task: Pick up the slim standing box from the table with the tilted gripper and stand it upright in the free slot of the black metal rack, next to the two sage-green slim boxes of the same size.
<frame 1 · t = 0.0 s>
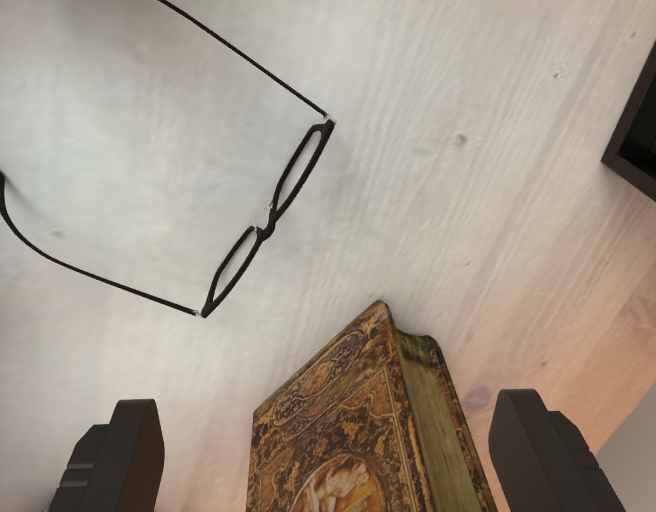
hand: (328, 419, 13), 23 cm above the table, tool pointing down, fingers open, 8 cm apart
book: (335, 375, 43), on the table
eyeglasses: (160, 145, 33), on the table
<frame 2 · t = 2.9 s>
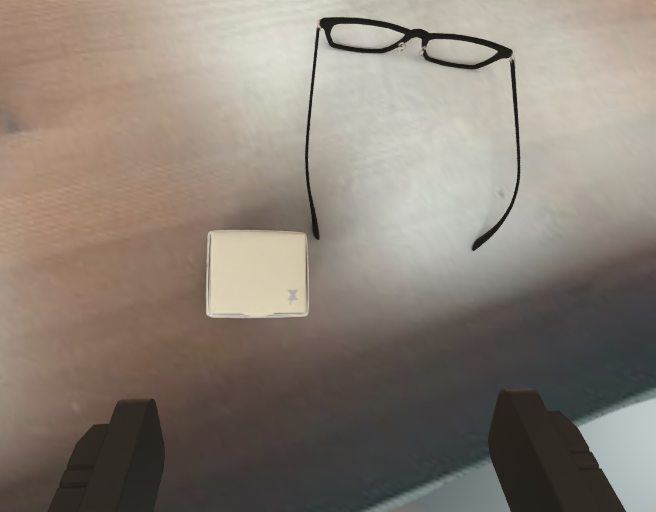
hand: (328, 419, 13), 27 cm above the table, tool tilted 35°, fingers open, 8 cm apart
box: (239, 280, 39), on the table
eyeglasses: (399, 146, 43), on the table
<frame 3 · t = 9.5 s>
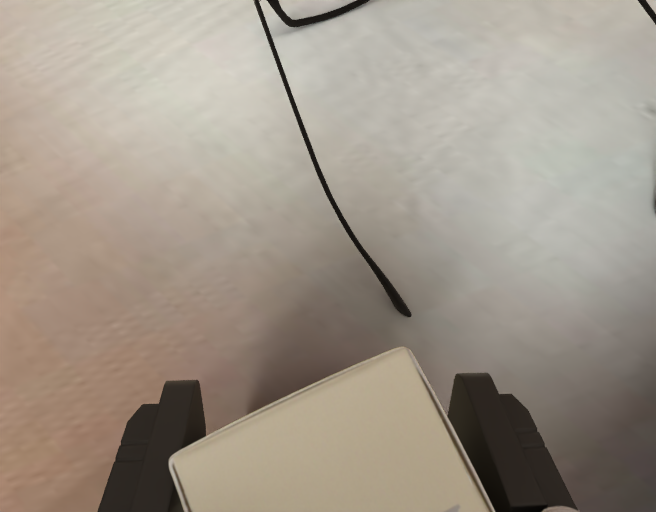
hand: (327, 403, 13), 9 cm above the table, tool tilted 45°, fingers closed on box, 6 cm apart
box: (317, 443, 22), on the table, touching gripper
eyeglasses: (461, 116, 26), on the table
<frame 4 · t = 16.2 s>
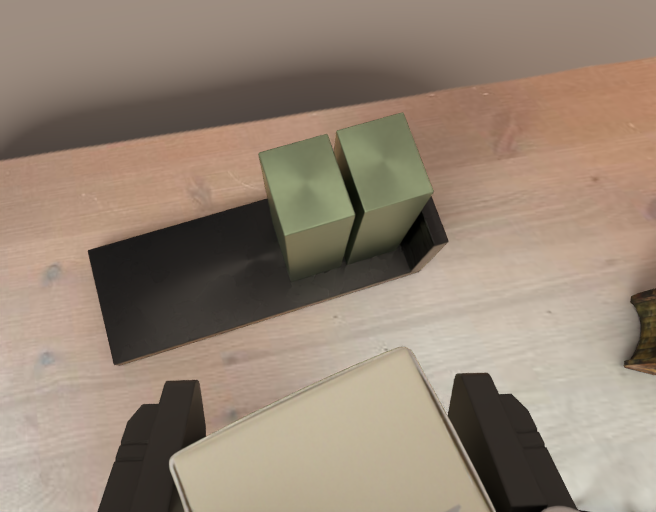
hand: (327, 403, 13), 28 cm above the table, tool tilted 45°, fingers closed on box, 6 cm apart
box: (317, 443, 22), point 19 cm above the table, touching gripper
rack: (257, 262, 43), on the table
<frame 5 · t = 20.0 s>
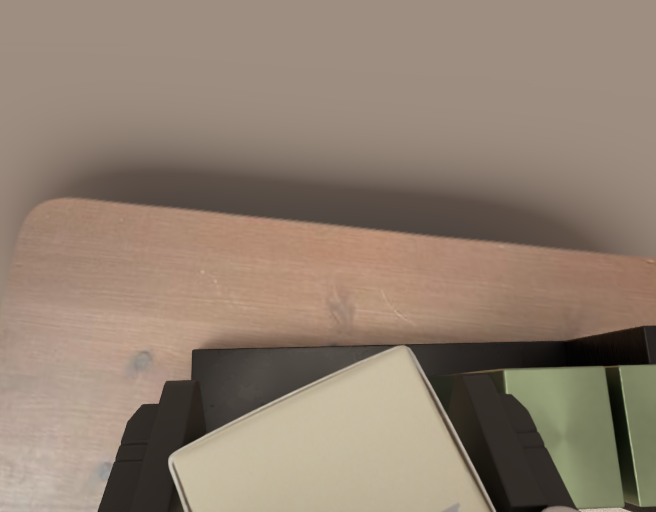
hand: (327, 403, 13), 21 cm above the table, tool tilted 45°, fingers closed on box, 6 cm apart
box: (317, 442, 22), point 12 cm above the table, touching gripper
rack: (390, 420, 34), on the table
when the fingers open (11 cm above the table, at t = 23.4 s): box stays where it is, resting on rack.
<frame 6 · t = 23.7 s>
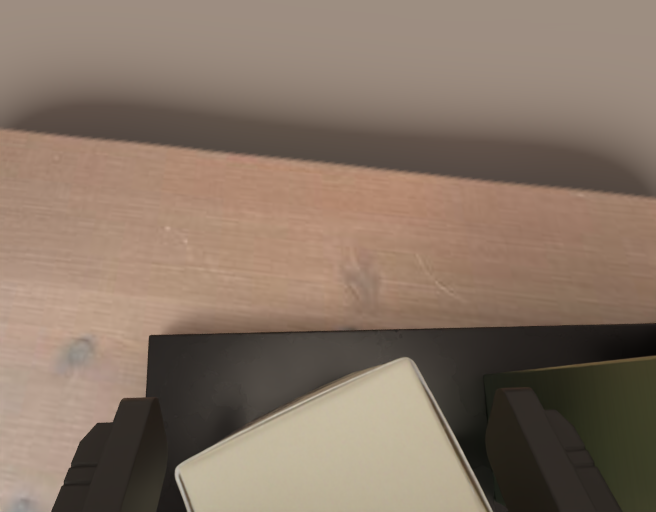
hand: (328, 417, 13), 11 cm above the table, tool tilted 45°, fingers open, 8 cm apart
box: (321, 447, 22), point 1 cm above the table, touching rack
rack: (433, 436, 23), on the table
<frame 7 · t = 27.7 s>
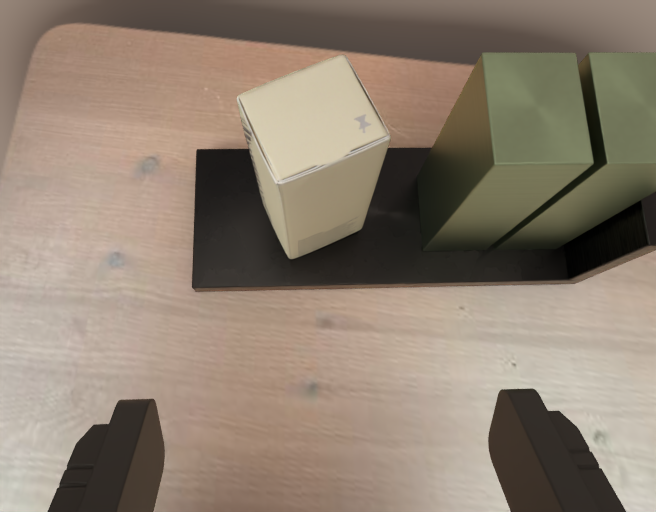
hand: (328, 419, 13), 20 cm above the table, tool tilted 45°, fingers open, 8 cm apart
box: (310, 218, 34), point 1 cm above the table, touching rack
rack: (384, 219, 35), on the table
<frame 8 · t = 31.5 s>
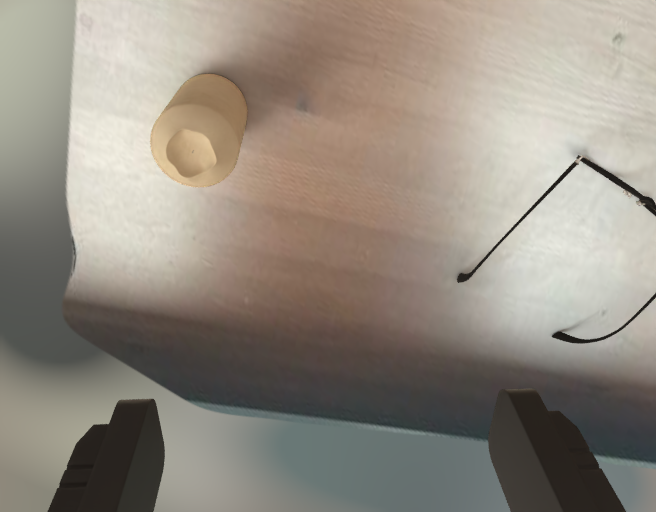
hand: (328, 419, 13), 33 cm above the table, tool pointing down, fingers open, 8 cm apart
candle: (212, 108, 42), on the table
eyeglasses: (563, 249, 50), on the table
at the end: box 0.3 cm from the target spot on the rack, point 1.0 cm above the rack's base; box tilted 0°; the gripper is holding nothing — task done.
